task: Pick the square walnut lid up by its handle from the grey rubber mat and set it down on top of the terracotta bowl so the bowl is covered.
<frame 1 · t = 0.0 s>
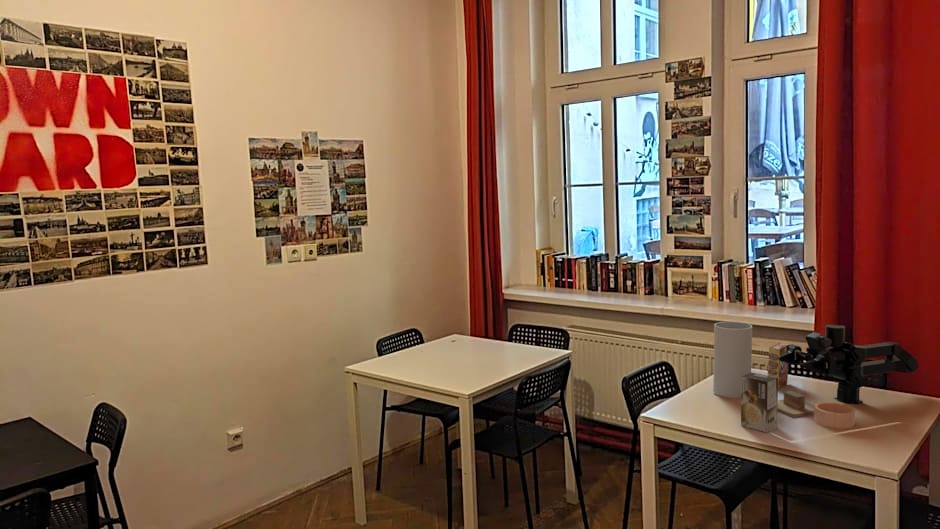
hand: (789, 362, 231), 17 cm above the table, tool horizontal, fingers open, 9 cm apart
cylinder vase: (731, 394, 252), on the table
walnut lid: (793, 408, 234), on the table, touching rubber mat
coffee box: (758, 427, 220), on the table
candy box: (777, 386, 260), on the table
terracotta bowl: (833, 423, 221), on the table
rubber mat: (793, 410, 234), on the table
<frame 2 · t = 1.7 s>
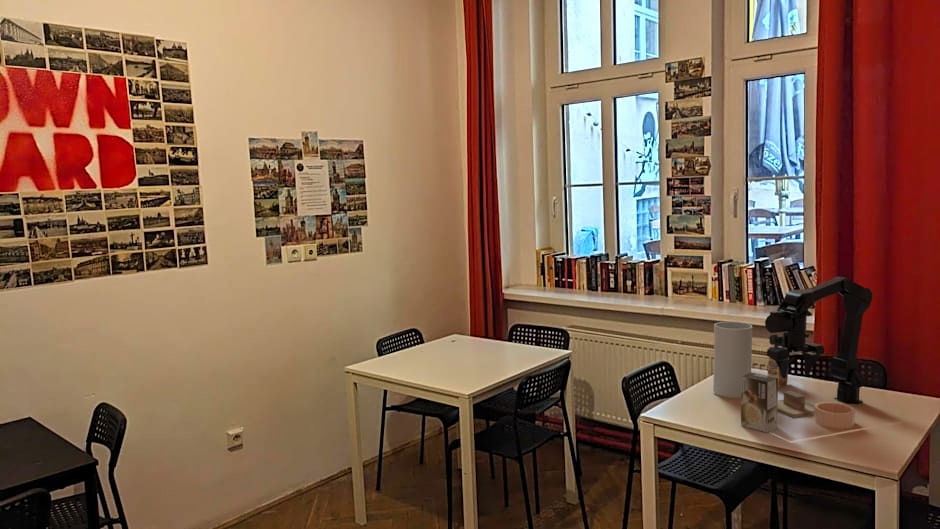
hand: (795, 376, 232), 11 cm above the table, tool pointing down, fingers open, 9 cm apart
nothing on the table moved.
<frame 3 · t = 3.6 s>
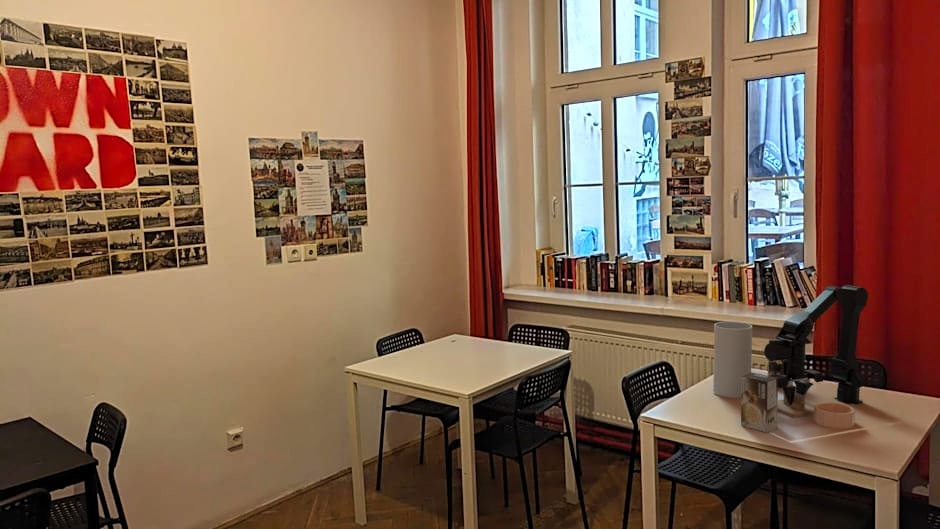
hand: (794, 403, 234), 2 cm above the table, tool pointing down, fingers closed on walnut lid, 3 cm apart
walnut lid: (793, 408, 234), on the table, touching gripper, rubber mat
everything else where it was.
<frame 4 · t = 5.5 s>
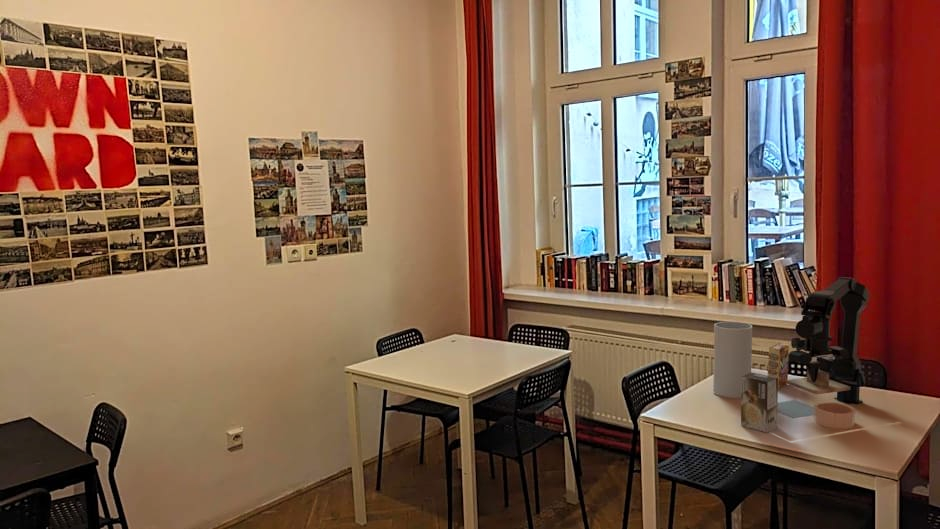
hand: (817, 381, 225), 12 cm above the table, tool pointing down, fingers closed on walnut lid, 3 cm apart
walnut lid: (817, 386, 225), point 10 cm above the table, touching gripper
everything else where it was.
when the fingers open (8 cm above the table, at t = 7.2 s): walnut lid drops 1 cm, resting on terracotta bowl.
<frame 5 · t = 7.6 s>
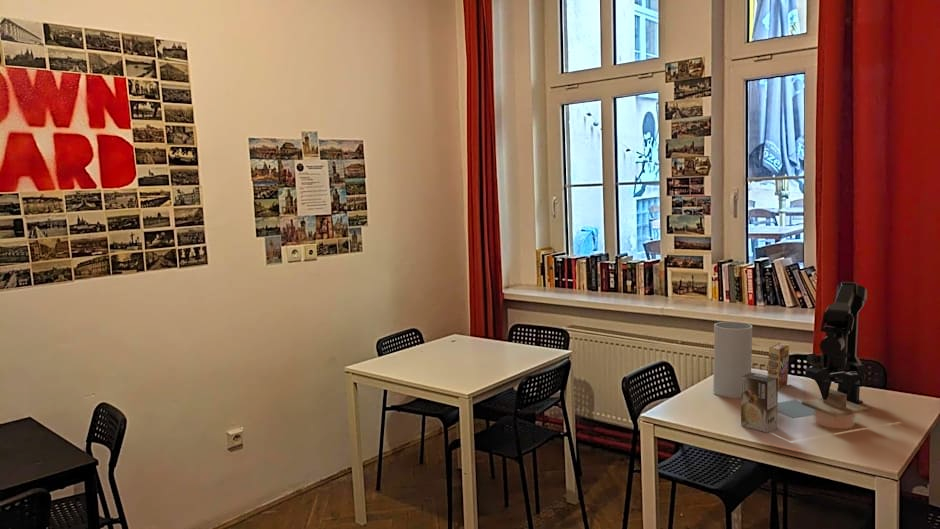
hand: (834, 398, 220), 8 cm above the table, tool pointing down, fingers open, 8 cm apart
walnut lid: (834, 407, 220), point 5 cm above the table, touching terracotta bowl
everything else where it was.
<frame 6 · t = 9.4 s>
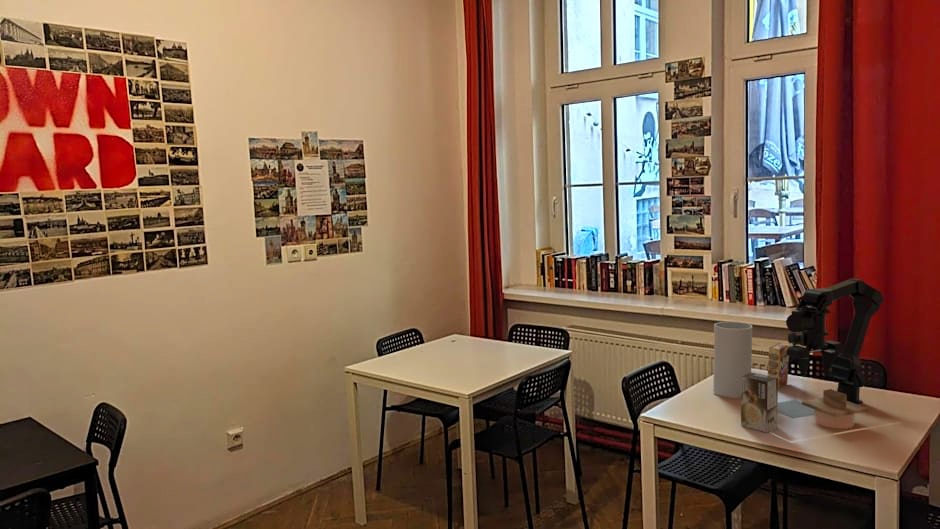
hand: (814, 374, 233), 12 cm above the table, tool pointing down, fingers open, 9 cm apart
nothing on the table moved.
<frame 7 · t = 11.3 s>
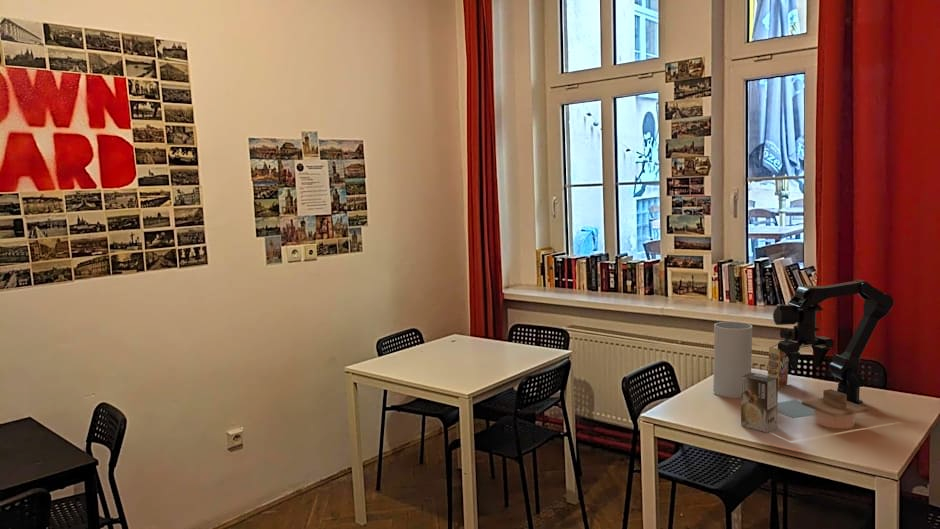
hand: (805, 369, 239), 12 cm above the table, tool pointing down, fingers open, 9 cm apart
nothing on the table moved.
at the end: walnut lid 0.0 cm off-centre on the terracotta bowl, point 5.0 cm above the terracotta bowl's base; walnut lid tilted 0°; the gripper is holding nothing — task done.
